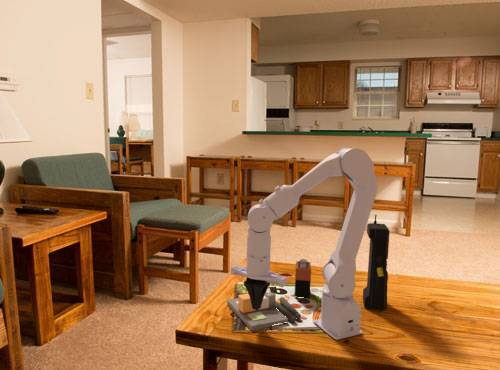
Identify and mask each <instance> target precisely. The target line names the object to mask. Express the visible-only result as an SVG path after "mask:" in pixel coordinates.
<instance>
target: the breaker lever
mask: <svg viewBox="0 0 500 370" xmlns="http://www.w3.org/2000/svg"><path fill="white" fill-rule="evenodd" d="M276 296H277V295H276V293H274V292H271V291H268V292H266V293H265V295H264V298H263V301H262V305H261V308H259V309H258V310H260V309H265V308H273V307H275V301H277V300H276V299H277V298H276ZM237 298H238V309H239V310H240V311H241V312H242V313H247V312H252V311H254V310H255V309H252V304H251V300H250V296H249V294H248V293H244V294H238V296H237Z"/></svg>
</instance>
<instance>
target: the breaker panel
mask: <svg viewBox="0 0 500 370" xmlns="http://www.w3.org/2000/svg"><path fill="white" fill-rule="evenodd" d="M226 304H227V306H228V307H229V308H230V309H231V310H232V311H233V312H234V314H235V315H236V316H237V317H238V318H239V319H240V320H241V321H242V322H243V323H244V324H245V325H246V326H247V328H248V329H249V330H250V331H251V332H253V331H258V330H263V329H267V328H272V327H271V326H272V325H274V324H278V323H284V322H288V323H289V320H288V318H287V317H285V316H284V315H283V314H282V313H281V312H280V311H278V310H277V309H276V308H277V304H275V307H273V308H265V309H260V310H254V311H252V312H247V313H242V312H241V311H240V310H239V309H238V297H236V298H232V299H227V300H226Z"/></svg>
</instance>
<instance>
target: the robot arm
mask: <svg viewBox="0 0 500 370" xmlns="http://www.w3.org/2000/svg"><path fill="white" fill-rule="evenodd" d="M374 164H375V163H374V161H373V160H372V158H371V157H370V156H369V154H368V153H367V152H366V151H365V150H363V149H361V148H356V147H355V148H354V147H350V146H344V147H342V148H340V149H338V150H337V151H336V152H334V153H332V154H330V155H329V156H327V157H326V158H324V159H322V161H320V162H319V163H318V164H317V165H315V166H314V167H312V169H310V170H309V171H308V172H307V173H305V174H304V175H303V176H302V177H300V178H299V179H298V180H297V181H295V182H294V183H293V184H291V185H290V184H283V185H282V186H279V185H277V186H276V187H275V188H274V192H272V193H271V194H270V195H268V196H266V197H265V198H264V199H263V198H261V199H260V200H259V201H258V204H254V205H253V206H251V207H250V208H249V211H248V214H247V224H248V227H247V233H248V234H247V235H246V238H247V239H246V263H245V264H246V266H245V265H244V266H243V265H233V266H231V267H230V275H232V276H235V275H236V276H239V277H245V278H246V279H245V280H244V281H243V286H244V287H245V289H246V291H247V294H249V296H250V300H251V304H252V309H255V310H258V309H259V308H261V305H262V301H263V298H264V295H265V293H267V290H268V288H269V287H270V285H276V286H278V287H279V288H284V287H285V286H286V285H287V277H286V276H283V275H280V274H279V273H277V272H273V271H271V249H272V247H271V246H272V245H271V242H272V236H271V228H272V226H273V224H274V223H273V222H274V221H276V220H279V219H280V218H281V217H283V216H284V215H285V214H287V213H288V212H290V211H291V210H293V208H295V207H296V206H298V205H299V202H300V197H301V196H302V195H304V194H305V193H307V192H308V191H310V190H311V189H313V188H314V187H315V186H317V185H319V184H320V183H322V182H323V181H325V180H326V179H328V178H333V177H334V178H335V177H337V178H338V177H343V175H344V176H345V177H346V178H347V180H348V181H349V183H350V186H351V187H352V188H353V192H352V195H351V198H350V202H349V204H348V208H347V211H346V214H345V218H344V221H343V224H342V228H341V230H340V233H339V237H338V240H337V243H336V247H335V250H334V251H333V252H331V254H330V257H329V259H328V261H327V262H326V263H325V264H324V265H323V267H322V270H321V273H322V274H321V275H322V277H323V279H324V280H325V283H324V286H323V287H322V289H321V290H322V291H321V307H320V308H321V309H320V310H321V311H320V318H318V319H314V320H313V323H314V324H315V323H316V324H317V325H318V326H317V325H316V324H315V325H316V326H317V327H318V328H320V329H321V330H322V331H324V332H325V333H326V334H328V335H329V336H330V337H332V338H333V339H334V340H336V341H338V340H341V339H347V338H350V337H353V336H359V335H362V334H363V330H361V318H362V307H361V305H360V304H359V303H358V302H357V301H356V299H355V298H354V296H353V295H354V294H353V293H354V291H355V289H356V280H355V276H356V273H357V263H356V259H357V256H358V253H359V250H360V247H361V243H362V240H363V237H364V235H365V234H364V233H365V231H366V228H367V224H368V222H369V219H370V218H369V217H370V215H371V212H372V208H373V206H374V202H375V199H376V196H377V193H378V190H379V186H378V185H379V184H378V182H377V177H376V174H375V173H376V172H375V169H374V166H375V165H374Z"/></svg>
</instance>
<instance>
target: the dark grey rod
mask: <svg viewBox="0 0 500 370" xmlns="http://www.w3.org/2000/svg"><path fill="white" fill-rule="evenodd" d="M275 304H277V309H278V310H279V311H280V312H281V313H282V314H283V315H284V316H286V317H287V318H288V319H289V320H288V321H289V322H291V321H292V322H294V323H296V322H297V319H296V317H295V316H294V315H292V314H291V313H290V312H289V311H288V310H287V309H286V308H285V307H284V306H283V305H282V304H281V303H280V302H278V301H277V300H276V301H275ZM295 321H296V322H295ZM292 322H291V323H292Z"/></svg>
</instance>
